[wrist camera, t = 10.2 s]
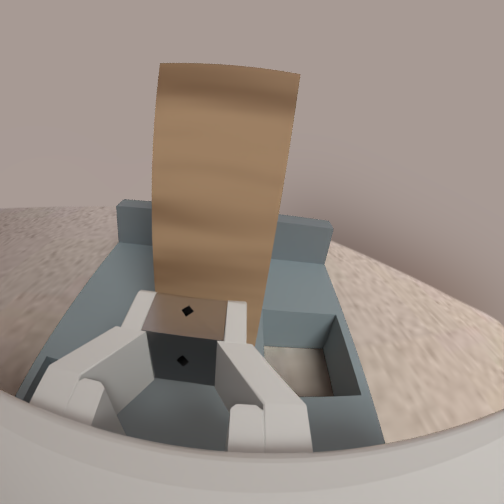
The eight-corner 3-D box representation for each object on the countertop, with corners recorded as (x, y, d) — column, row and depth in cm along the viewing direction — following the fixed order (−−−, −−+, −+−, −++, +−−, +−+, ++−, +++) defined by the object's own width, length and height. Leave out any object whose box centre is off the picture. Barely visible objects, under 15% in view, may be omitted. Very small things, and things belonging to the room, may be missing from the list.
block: (253, 355, 14) (300, 74, 8) (160, 344, 13) (160, 63, 8) (252, 268, 21) (278, 88, 15) (188, 261, 20) (200, 80, 15)
